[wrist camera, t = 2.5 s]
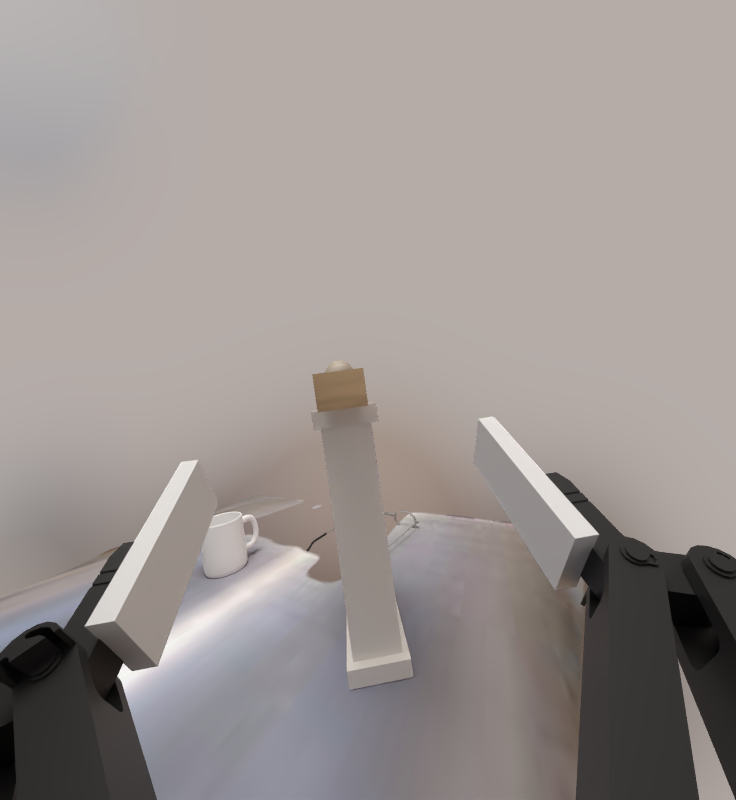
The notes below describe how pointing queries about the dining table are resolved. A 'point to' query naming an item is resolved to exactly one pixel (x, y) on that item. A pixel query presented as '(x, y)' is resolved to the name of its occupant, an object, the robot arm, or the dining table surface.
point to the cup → (226, 544)
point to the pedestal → (363, 548)
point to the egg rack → (340, 387)
